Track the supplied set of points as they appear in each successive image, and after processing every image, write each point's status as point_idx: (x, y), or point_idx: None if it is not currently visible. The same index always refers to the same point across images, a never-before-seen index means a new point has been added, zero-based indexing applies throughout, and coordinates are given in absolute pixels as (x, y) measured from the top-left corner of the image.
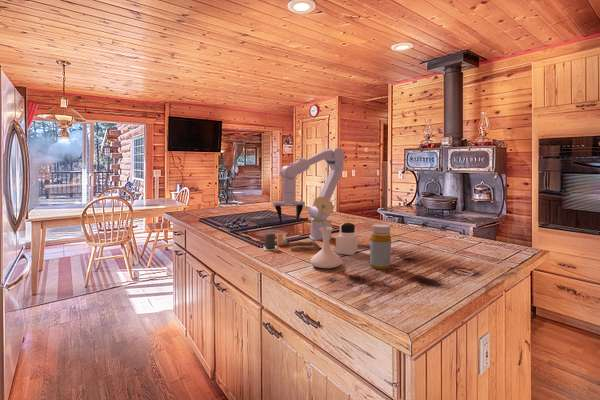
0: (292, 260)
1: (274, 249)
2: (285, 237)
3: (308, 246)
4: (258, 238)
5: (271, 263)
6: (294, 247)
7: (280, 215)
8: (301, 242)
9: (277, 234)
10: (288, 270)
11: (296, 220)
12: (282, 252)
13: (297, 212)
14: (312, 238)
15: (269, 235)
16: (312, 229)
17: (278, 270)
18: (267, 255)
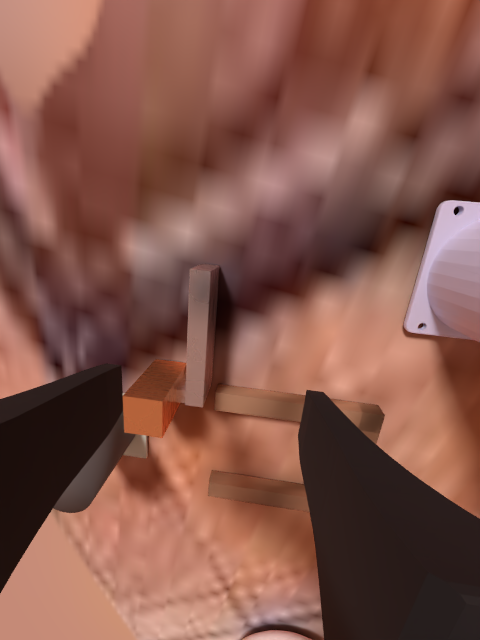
0: (188, 578)
1: (132, 454)
2: (194, 391)
3: (298, 499)
4: (39, 159)
5: (113, 579)
6: (224, 492)
7: (49, 494)
8: (290, 420)
9: (124, 428)
10: (159, 636)
11: (303, 421)
12: (166, 490)
13: (322, 591)
14: (417, 314)
15: (60, 509)
16: (474, 314)
17: (131, 628)
18: (101, 505)
